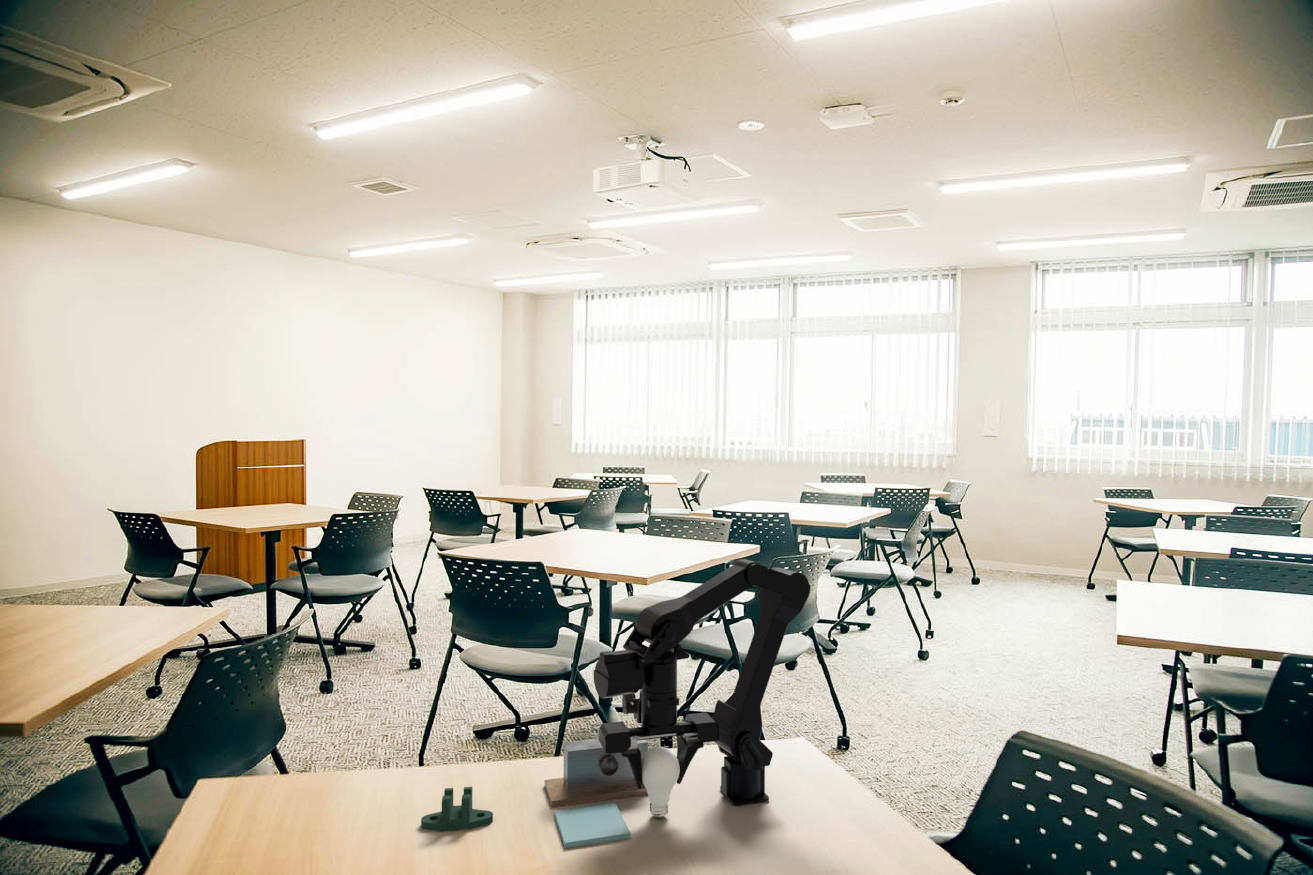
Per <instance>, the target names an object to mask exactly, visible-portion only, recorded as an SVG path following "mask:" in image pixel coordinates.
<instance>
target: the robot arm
mask: <svg viewBox="0 0 1313 875" xmlns="http://www.w3.org/2000/svg"><path fill="white" fill-rule="evenodd" d="M752 587H756V588H757V589H759V592H758V601H759V609H760V610H759V611H760V614H759V619H758V621H757V624H756V627H755V630H754V633H753V635H752V638H751V642H750V644H749V647H748V650H747V652H746V656H745V659H744V661H743V665H742V667H741V670H740V673H739V675H738V679H737V681H736V685H735V688H734V690H733V693H732V694H731V695H730V697H729V698H728V699H726V700H725V701H722V700H721V699H719V700H717V701H716V703H715V706H714V711H713V715H712V716H711V715H709V713H707V711H706V712H700V713H699V712H697V713H689V714H686V715H685V718H684V721H681V722H678V706H679V705H680V698H679V697H678V661H680V660H687V659H689V658H690V657H691V654H690V653H688V652H687V651H686V650H685V649H683V647H682V646H681V642H683V640H685V639H686V638H687V637H688V636H690V634H691V633H692V631H693V628H694V627H695V625H696V624H697V623H698V622H699V621H700V620H702V619H703V618H705V617H706V616H708V615H710V614H711V613H712V612H715V611H716V610H717V609H719V608H721V607H722V606H723V605H726V604H727V603H728V602H730V601H731V600H733V599H735V598H736V597H737V596H740V595H741V594H743V593H744V592H745V591H747V590H749V589H751V588H752ZM810 593H811V585H810V583H809V580H808V578H807V576H806V575H805V574H803V573H802V572H798V571H795V570H790V569H786V568H782V567H778V566H775V567H772V568H770V567H767V566H764V565H762V564H761V563H759V562H757V561H752V560H749V559H745V558H744V559H743V558H741V559H738V560H736V561H734V563H733V564H732V565H731V566H730V567H729V566H728V568H725V570H723V571H721V572H719V573H718V574H716V575H714V576H713V577H711V578H710V579H708V580H707V581H704V582H703V583H701V584H700V585H698V586H697V587H695V588H694V589H692V590H690V591H689V592H686V594H684V595H682V596H679V597H677V598H674V599H668V600H663V601H660V602H657V603H654V604H653V605H650V606H647V607H645V608H643V610H641V611H640V612H639V614H638V617H637V620H636V625H635V626H634V628H633V629H632V631H631V632H630V634H629V636H628V637H627V639H626V640H625V642H624V643H623V645H622V648H623V649H622V650H616V651H608V650H606V651H600V652H599V659H598V660H597V661H596V663H595V667H594V670H593V683H594V688H595V690H596V694H597V695H598V696H599V698H600V699H608V698H609V699H610V698H615V697H619V696H620V697H622V699H621V701H622V702H621V703H622V704H621V705H622V706H621V707H622V713H623V714H624V715H629V714H633V719H634V720H636V722H637V724H640V725H641V726H638V727H629V728H628V727H627V725H626V724H625V723H624V721H622V720H621V721H614V722H605V723H604V722H603V723H601V725H600V726H599V728H598V738H599V742H600V744H601V745H602V747H603V749H604V751H605V753H609V754H612V753H621V755H622V756H623V757H627V758H628V760H629V762H630V765H631V768H632V772H633V775H634V778H635V781H636V784H637V787H638V789H641V787H642V764H641V752H640V750H639V749H638V747H637V741H638V740H647V741H648V740H653V739H662V738H670V737H676V744H677V747H676V749H677V751H676V757H677V759H678V762H679V765H680V773H679V777H678V780H677V782H676V783H677V784H678V785H680V784H681V783H682V782H683V779H684V777H685V774H686V772H687V770H688V768H689V766H690V764H691V763H692V761H693V758H694V757H695V755H696V754H697V752H698V750H699V749H702V748H704V745H705V744H704V743H711V742H713V743H714V744H715V745H717V747H718V750H719V752H720V753H722V754H723V755H725V756H723V766H722V767H720V771H721V772H720V779H721V780H720V787H719V789H720V791H721V792H722V793H723V794H724V795H725V797H726V798H727V799H728V801H729V802H730V803H731V804H732V805H734V806H739V805H748V804H753V803H760V802H761V803H762V802H767V801H769V800H770V796H769V795H768V794H767V793H766V784H765V783H766V782H765V781H766V778H765V777H766V774H765V772H766V767H769V766H770V765H771V761H772V759H773V755H774V752H772V751H771V749H769V747H767V745H765V744H764V742H762V741H761V736H762V730H763V719H762V711H761V710H762V708H761V707H762V706H761V705H762V702H763V699H764V696H765V693H766V690H767V687H768V684H769V681H770V679H771V675H772V672H773V671H774V670H773V669H774V666H775V664H776V660H777V659H778V658H777V657H778V655H779V653H780V648H781V646H782V644H783V640H784V638H785V635H786V631H787V629H788V626H789V624H790V623H792V621H793V620H795V618H796V617H797V616H799V615H800V613H802V611H803V609H804V607H805V604H806V602H807V600H808V599H809V597H810ZM644 642H647V643H648V644H649V645H648V646H647V645H645V644H643V643H644ZM638 692H639V698H636V694H637V693H638Z"/></svg>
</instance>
